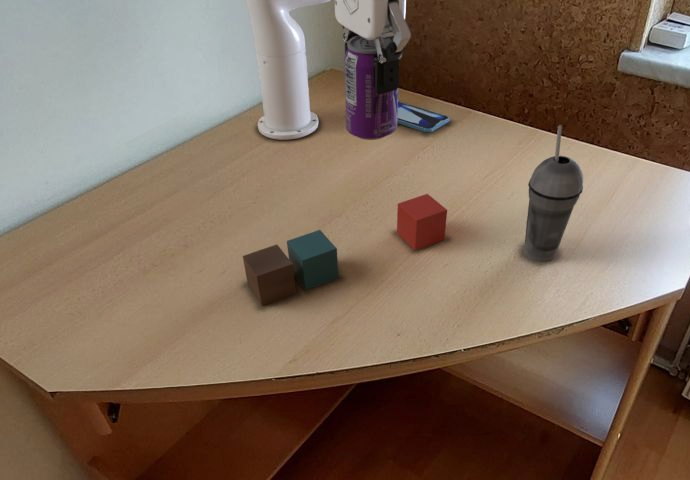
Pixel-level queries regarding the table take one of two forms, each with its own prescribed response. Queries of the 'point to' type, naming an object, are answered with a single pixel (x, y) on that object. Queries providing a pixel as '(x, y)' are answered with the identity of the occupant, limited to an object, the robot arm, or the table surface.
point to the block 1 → (269, 274)
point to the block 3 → (421, 221)
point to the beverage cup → (551, 203)
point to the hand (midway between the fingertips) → (371, 80)
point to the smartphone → (419, 118)
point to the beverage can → (367, 93)
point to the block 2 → (313, 259)
